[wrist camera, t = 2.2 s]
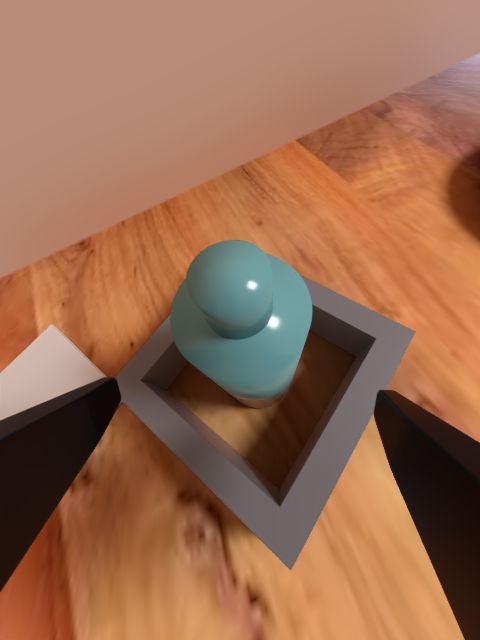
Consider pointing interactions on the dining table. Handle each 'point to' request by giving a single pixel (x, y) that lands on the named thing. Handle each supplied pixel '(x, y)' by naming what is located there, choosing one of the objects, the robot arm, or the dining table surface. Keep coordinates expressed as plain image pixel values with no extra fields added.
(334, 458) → the frame
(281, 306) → the teal bottle
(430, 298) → the dining table surface
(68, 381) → the white mat
